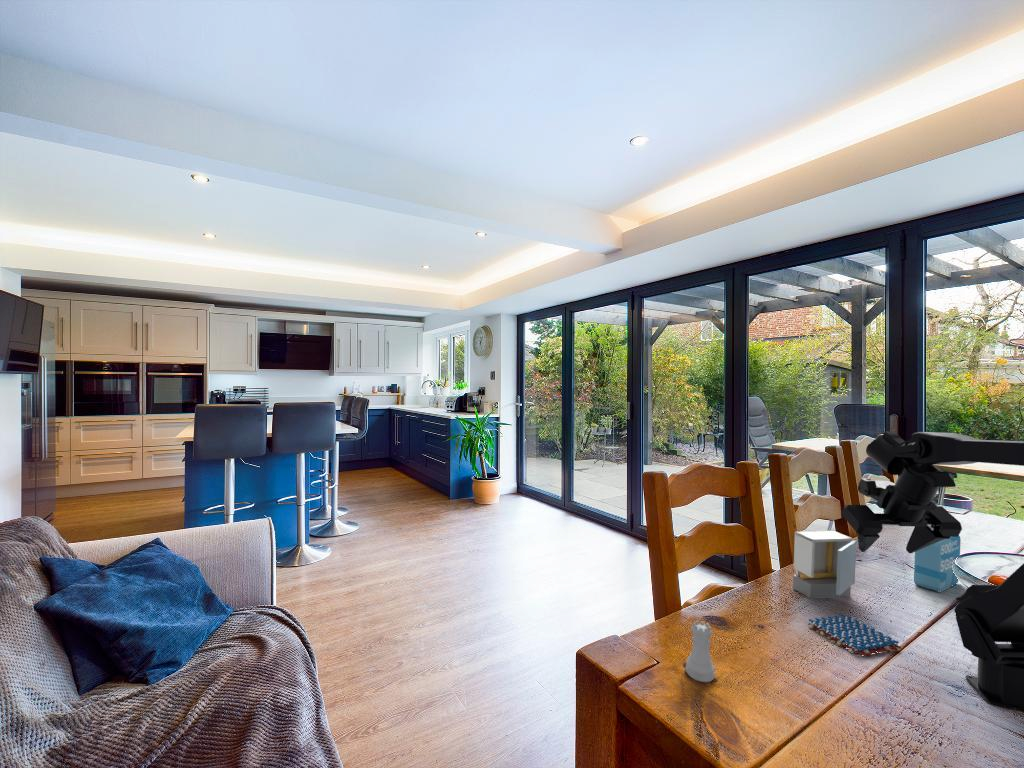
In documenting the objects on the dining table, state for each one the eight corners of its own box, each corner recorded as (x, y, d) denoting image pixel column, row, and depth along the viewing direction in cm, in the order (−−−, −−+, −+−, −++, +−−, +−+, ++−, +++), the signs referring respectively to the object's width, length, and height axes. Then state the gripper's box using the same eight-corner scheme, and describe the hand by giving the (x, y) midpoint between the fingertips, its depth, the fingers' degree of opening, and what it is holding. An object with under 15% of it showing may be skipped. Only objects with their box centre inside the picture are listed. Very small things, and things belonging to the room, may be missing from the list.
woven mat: (859, 662, 79) (860, 650, 78) (805, 628, 89) (805, 618, 89) (904, 653, 81) (905, 642, 81) (846, 622, 92) (846, 612, 92)
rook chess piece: (690, 662, 76) (691, 614, 76) (718, 673, 74) (720, 624, 73) (681, 675, 73) (682, 625, 73) (710, 688, 70) (712, 636, 70)
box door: (854, 582, 101) (856, 541, 101) (839, 595, 95) (841, 551, 94) (851, 581, 101) (853, 540, 101) (836, 594, 95) (837, 550, 95)
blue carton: (937, 593, 104) (940, 541, 104) (913, 585, 108) (915, 535, 108) (959, 583, 110) (961, 533, 110) (934, 576, 114) (936, 528, 114)
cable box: (850, 596, 102) (852, 538, 101) (810, 598, 100) (812, 539, 100) (831, 586, 107) (833, 530, 106) (792, 588, 105) (794, 531, 105)
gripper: (933, 465, 93) (904, 523, 100) (837, 463, 94) (815, 521, 101) (980, 503, 83) (944, 564, 90) (873, 501, 84) (846, 562, 91)
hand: (884, 551), depth 93 cm, fingers open, 9 cm apart
